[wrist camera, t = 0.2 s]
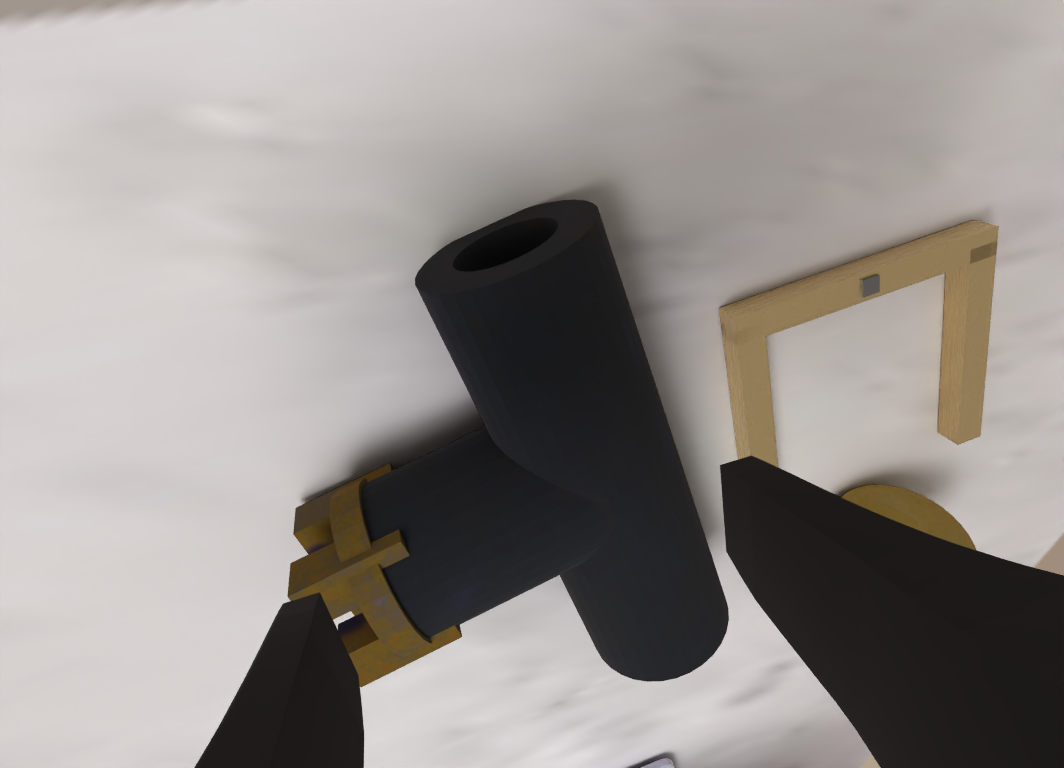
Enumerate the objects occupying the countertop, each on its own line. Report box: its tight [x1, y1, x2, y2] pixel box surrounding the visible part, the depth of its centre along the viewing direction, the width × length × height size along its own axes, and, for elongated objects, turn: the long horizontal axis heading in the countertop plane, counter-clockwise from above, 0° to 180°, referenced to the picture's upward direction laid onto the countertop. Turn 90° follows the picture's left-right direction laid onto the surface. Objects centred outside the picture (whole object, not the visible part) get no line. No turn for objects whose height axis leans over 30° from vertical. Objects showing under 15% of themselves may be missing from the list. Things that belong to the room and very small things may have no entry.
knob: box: [841, 484, 976, 550], centre depth 26 cm, size 5×5×5 cm
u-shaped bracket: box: [719, 220, 999, 467], centre depth 24 cm, size 8×10×1 cm
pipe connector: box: [288, 200, 729, 687], centre depth 20 cm, size 12×5×15 cm
